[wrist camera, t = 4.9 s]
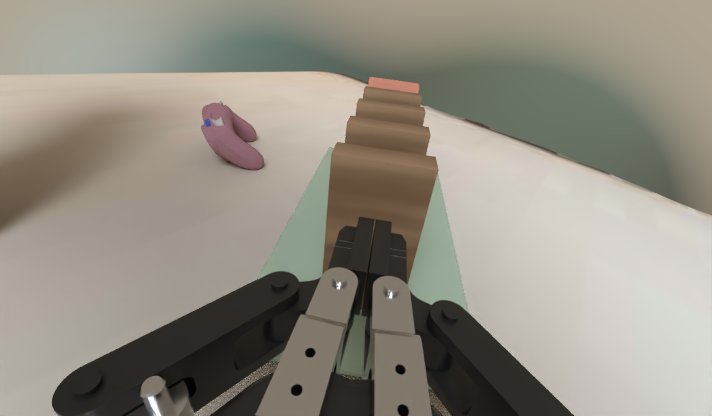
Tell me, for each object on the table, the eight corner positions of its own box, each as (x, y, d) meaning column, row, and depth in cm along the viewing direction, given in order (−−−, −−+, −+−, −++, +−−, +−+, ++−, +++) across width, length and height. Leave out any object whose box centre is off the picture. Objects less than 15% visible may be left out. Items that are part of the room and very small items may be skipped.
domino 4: (399, 263, 24) (430, 135, 19) (334, 252, 24) (346, 122, 19) (399, 249, 26) (428, 127, 20) (338, 239, 26) (350, 115, 21)
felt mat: (485, 400, 16) (487, 397, 16) (219, 351, 17) (219, 348, 17) (435, 165, 42) (435, 163, 42) (329, 149, 43) (329, 147, 42)
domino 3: (400, 226, 29) (425, 113, 23) (344, 217, 29) (356, 103, 24) (400, 216, 30) (424, 107, 25) (347, 207, 30) (359, 98, 25)
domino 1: (400, 177, 37) (419, 86, 32) (357, 170, 37) (369, 79, 32) (400, 171, 38) (418, 83, 33) (359, 165, 39) (370, 77, 33)
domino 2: (400, 198, 33) (421, 97, 28) (351, 190, 33) (364, 89, 28) (400, 191, 34) (420, 93, 29) (354, 183, 34) (365, 86, 29)
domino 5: (399, 316, 20) (438, 170, 15) (320, 302, 20) (331, 153, 15) (399, 296, 21) (435, 156, 16) (325, 284, 22) (337, 142, 16)
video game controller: (227, 151, 43) (193, 102, 38) (259, 135, 43) (229, 85, 38) (230, 186, 35) (188, 130, 30) (268, 167, 35) (232, 109, 31)
